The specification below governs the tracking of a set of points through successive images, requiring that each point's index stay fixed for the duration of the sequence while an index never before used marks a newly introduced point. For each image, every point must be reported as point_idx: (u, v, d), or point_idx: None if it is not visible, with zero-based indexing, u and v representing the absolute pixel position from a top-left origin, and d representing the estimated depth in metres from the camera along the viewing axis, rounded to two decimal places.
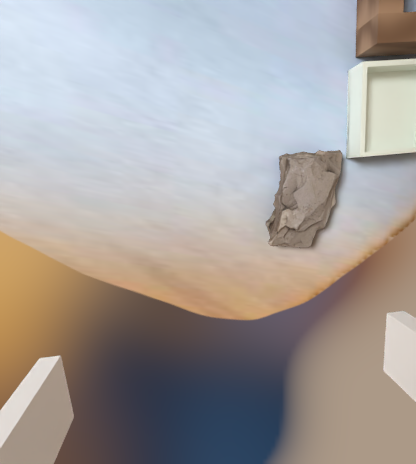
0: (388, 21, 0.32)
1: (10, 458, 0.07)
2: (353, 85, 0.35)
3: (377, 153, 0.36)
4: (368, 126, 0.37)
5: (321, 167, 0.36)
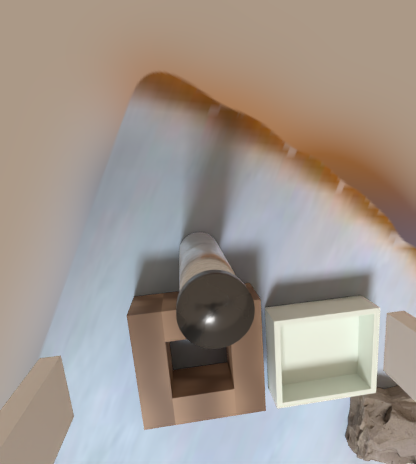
0: (243, 403, 0.28)
1: (11, 458, 0.07)
2: None
3: (374, 374, 0.30)
4: (330, 361, 0.32)
5: (380, 429, 0.32)
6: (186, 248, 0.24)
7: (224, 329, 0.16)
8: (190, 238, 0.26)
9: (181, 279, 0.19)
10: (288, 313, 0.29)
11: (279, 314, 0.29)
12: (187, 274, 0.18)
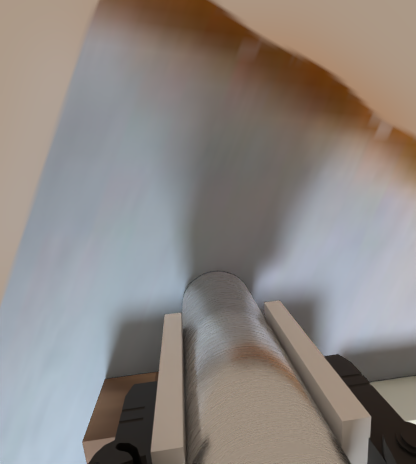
0: None
1: (183, 375, 0.10)
2: None
3: None
4: None
5: None
6: (198, 319, 0.12)
7: None
8: (203, 288, 0.14)
9: (191, 459, 0.07)
10: None
11: None
12: None
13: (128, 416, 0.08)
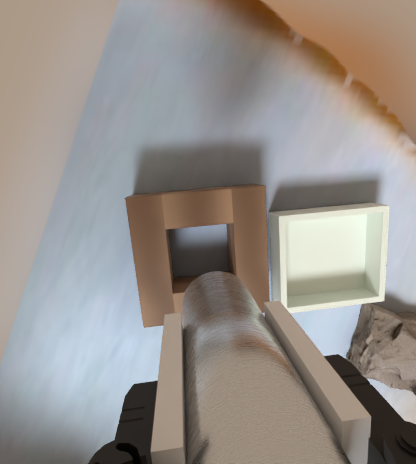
0: None
1: (183, 375, 0.10)
2: None
3: (382, 280, 0.29)
4: (336, 273, 0.31)
5: (387, 345, 0.31)
6: (197, 319, 0.12)
7: None
8: (203, 288, 0.14)
9: (191, 460, 0.07)
10: (293, 212, 0.27)
11: (284, 213, 0.27)
12: None
13: (128, 416, 0.08)
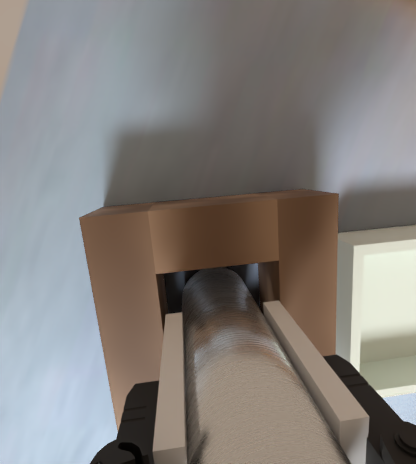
0: None
1: (184, 374, 0.10)
2: None
3: None
4: None
5: None
6: (196, 310, 0.12)
7: None
8: (202, 282, 0.15)
9: (190, 431, 0.07)
10: (373, 237, 0.16)
11: (357, 239, 0.16)
12: (207, 437, 0.07)
13: (130, 415, 0.08)
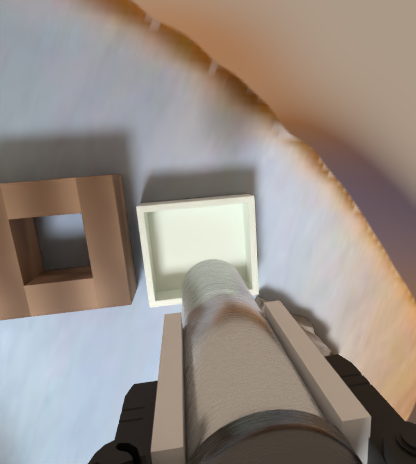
0: (105, 294, 0.26)
1: (183, 375, 0.10)
2: None
3: (255, 272, 0.28)
4: None
5: None
6: (194, 296, 0.14)
7: None
8: (200, 272, 0.16)
9: (188, 390, 0.09)
10: (158, 203, 0.27)
11: (148, 204, 0.27)
12: (202, 390, 0.08)
13: (128, 416, 0.08)
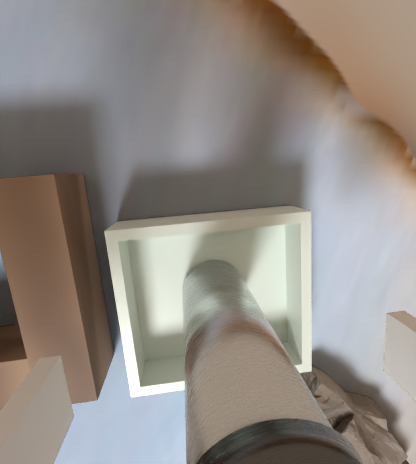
0: None
1: (11, 458, 0.07)
2: None
3: (307, 337, 0.17)
4: None
5: None
6: (195, 298, 0.14)
7: None
8: (201, 274, 0.16)
9: (189, 395, 0.09)
10: (144, 223, 0.16)
11: (127, 225, 0.16)
12: (204, 396, 0.08)
13: None
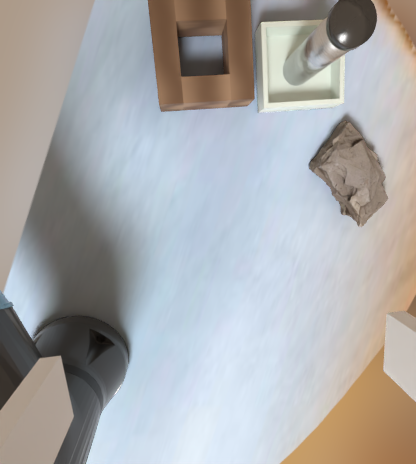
0: (237, 89, 0.35)
1: (10, 458, 0.07)
2: (275, 110, 0.39)
3: (342, 84, 0.37)
4: (308, 88, 0.39)
5: (346, 148, 0.39)
6: None
7: (358, 32, 0.26)
8: None
9: (317, 28, 0.29)
10: None
11: None
12: (325, 18, 0.28)
13: None
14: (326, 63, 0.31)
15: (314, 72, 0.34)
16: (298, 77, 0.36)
